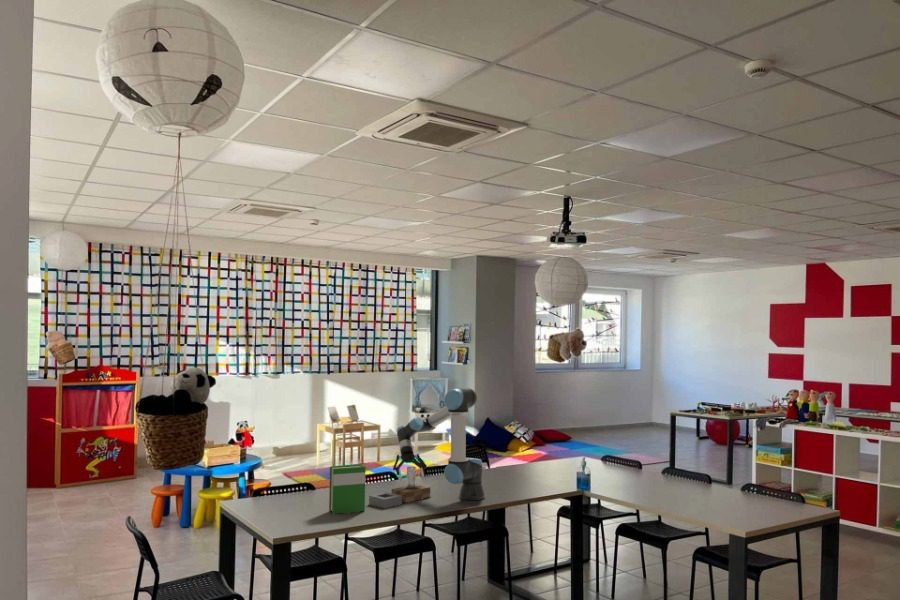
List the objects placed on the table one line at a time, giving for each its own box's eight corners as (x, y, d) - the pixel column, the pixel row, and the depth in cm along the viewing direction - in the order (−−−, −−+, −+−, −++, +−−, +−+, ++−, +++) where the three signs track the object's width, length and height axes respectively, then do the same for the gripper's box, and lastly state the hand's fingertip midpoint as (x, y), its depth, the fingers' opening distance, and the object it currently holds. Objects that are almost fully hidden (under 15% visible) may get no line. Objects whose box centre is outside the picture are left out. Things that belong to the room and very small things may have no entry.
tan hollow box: (430, 497, 404) (430, 487, 404) (405, 503, 389) (405, 492, 390) (415, 494, 412) (416, 484, 412) (391, 499, 397) (391, 489, 398)
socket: (401, 504, 385) (401, 495, 385) (384, 508, 375) (384, 499, 376) (386, 501, 394) (386, 492, 394) (368, 504, 384) (369, 495, 385)
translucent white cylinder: (416, 498, 401) (417, 467, 402) (410, 499, 397) (411, 468, 398) (411, 497, 404) (411, 466, 405) (404, 498, 401) (405, 467, 402)
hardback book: (332, 514, 361) (333, 468, 363) (329, 511, 368) (330, 466, 370) (364, 511, 369) (365, 466, 370) (360, 508, 375) (361, 464, 377)
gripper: (424, 451, 421) (431, 481, 405) (385, 453, 413) (390, 483, 398) (427, 444, 416) (433, 474, 401) (387, 445, 409) (392, 476, 393)
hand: (412, 478), depth 399 cm, fingers open, 13 cm apart
